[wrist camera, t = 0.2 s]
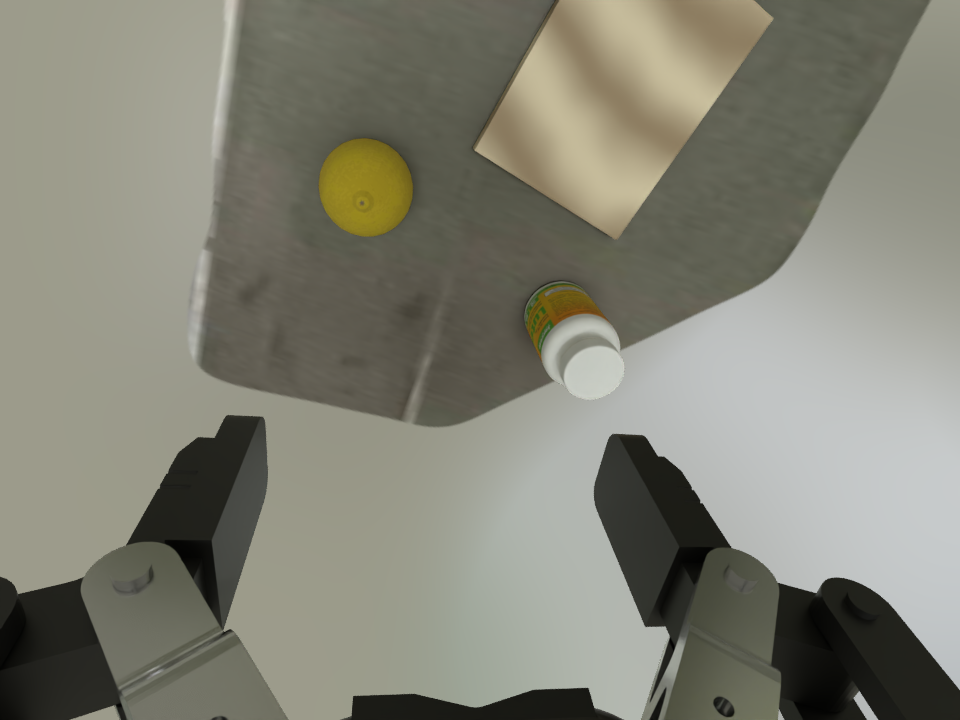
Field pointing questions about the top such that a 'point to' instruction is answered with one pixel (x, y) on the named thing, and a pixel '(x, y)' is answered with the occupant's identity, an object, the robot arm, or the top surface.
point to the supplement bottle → (574, 340)
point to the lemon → (365, 187)
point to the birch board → (615, 97)
